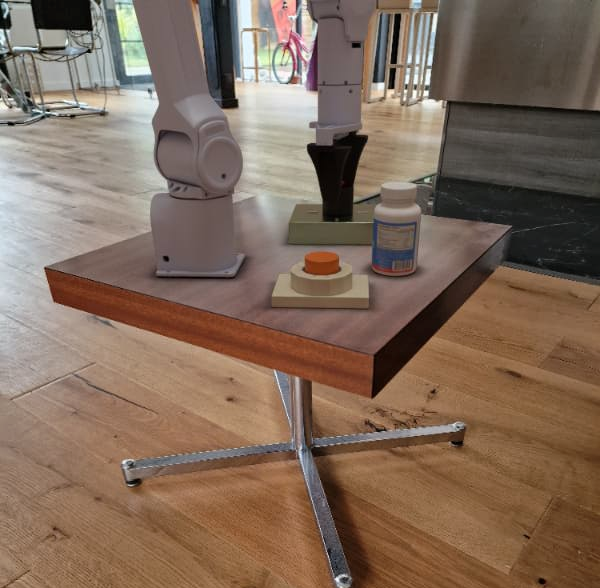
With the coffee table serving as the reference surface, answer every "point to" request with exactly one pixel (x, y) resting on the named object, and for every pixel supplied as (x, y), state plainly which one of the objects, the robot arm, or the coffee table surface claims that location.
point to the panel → (331, 225)
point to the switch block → (321, 289)
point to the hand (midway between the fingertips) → (337, 194)
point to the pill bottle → (396, 230)
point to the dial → (340, 202)
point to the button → (321, 263)
